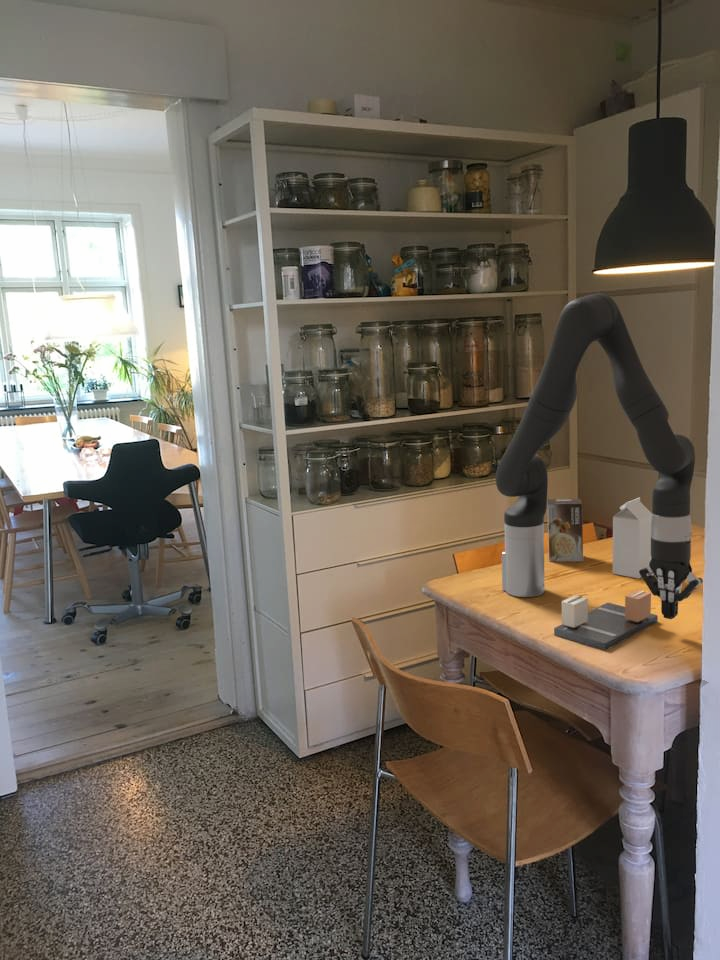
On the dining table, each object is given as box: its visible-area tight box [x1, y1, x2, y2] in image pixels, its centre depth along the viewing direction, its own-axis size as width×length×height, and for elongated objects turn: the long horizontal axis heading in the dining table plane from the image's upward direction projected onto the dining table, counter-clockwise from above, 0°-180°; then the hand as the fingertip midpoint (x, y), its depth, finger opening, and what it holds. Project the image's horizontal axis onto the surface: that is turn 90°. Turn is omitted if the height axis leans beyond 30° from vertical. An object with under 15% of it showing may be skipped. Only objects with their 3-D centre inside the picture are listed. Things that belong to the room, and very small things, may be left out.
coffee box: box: [547, 498, 584, 563], centre depth 215 cm, size 9×6×16 cm
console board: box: [553, 602, 659, 651], centre depth 168 cm, size 12×20×2 cm, turn 131°
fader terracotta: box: [624, 589, 652, 622], centre depth 168 cm, size 3×5×5 cm, turn 131°
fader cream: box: [561, 595, 589, 628], centre depth 167 cm, size 3×5×5 cm, turn 131°
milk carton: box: [612, 497, 652, 579], centre depth 200 cm, size 7×7×19 cm
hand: (669, 617), depth 162 cm, fingers closed
